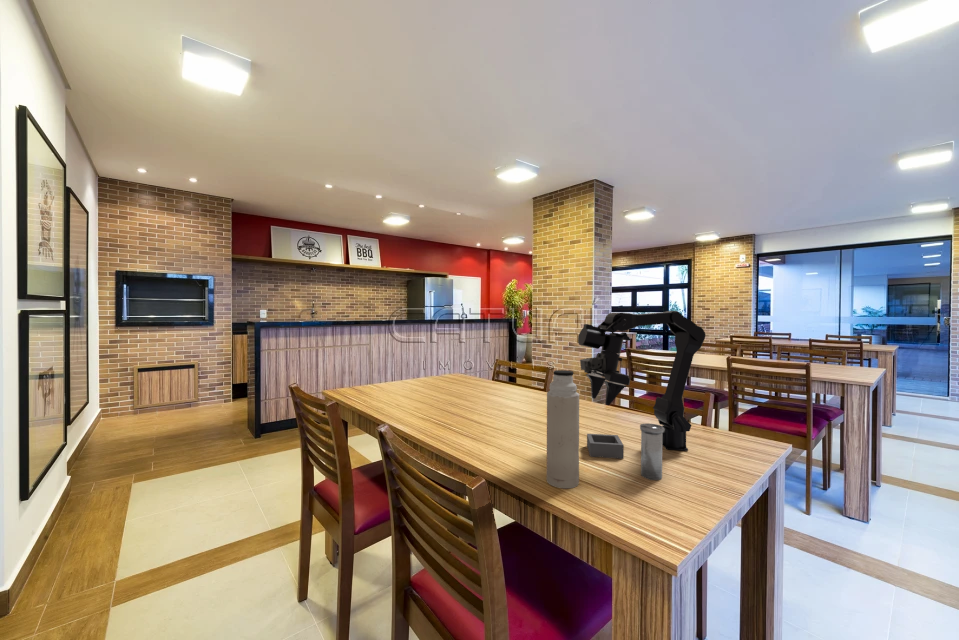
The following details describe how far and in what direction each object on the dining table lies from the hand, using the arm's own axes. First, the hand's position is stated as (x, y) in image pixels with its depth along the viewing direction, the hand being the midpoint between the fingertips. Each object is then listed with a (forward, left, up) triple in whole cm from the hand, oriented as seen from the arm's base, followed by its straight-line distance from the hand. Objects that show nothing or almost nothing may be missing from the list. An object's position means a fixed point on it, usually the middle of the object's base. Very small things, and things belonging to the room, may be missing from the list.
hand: (600, 401), depth 118 cm
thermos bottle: (+12, +24, -16) cm, 31 cm away
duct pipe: (-11, +17, -15) cm, 25 cm away
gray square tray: (-1, +1, -15) cm, 15 cm away
